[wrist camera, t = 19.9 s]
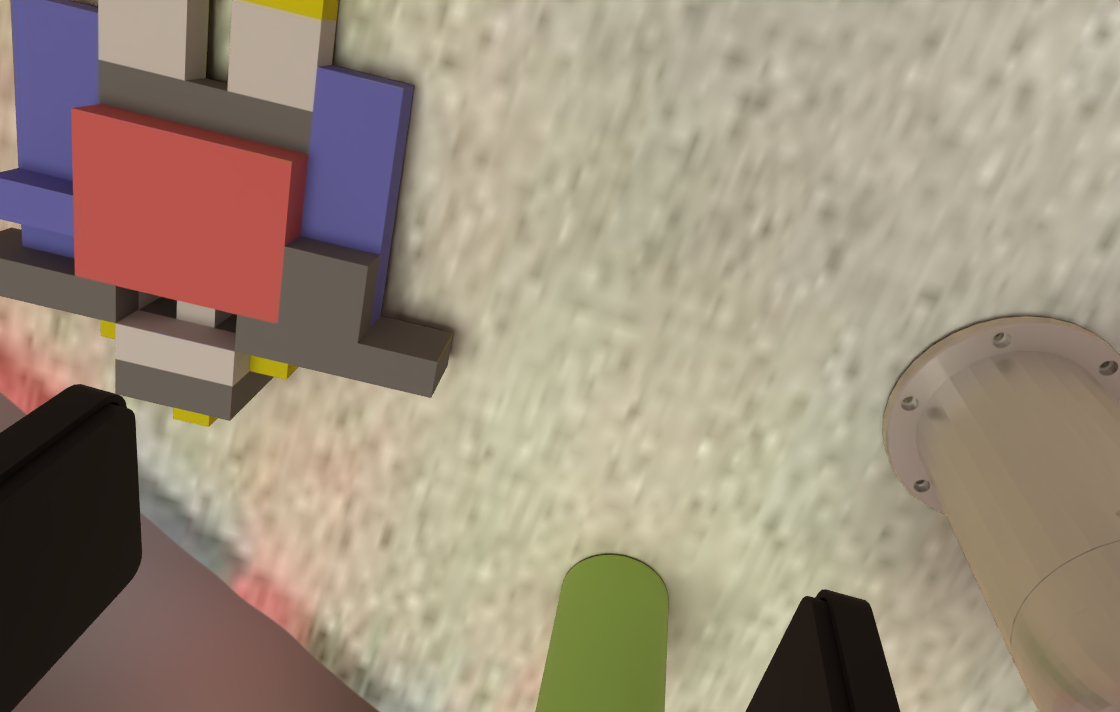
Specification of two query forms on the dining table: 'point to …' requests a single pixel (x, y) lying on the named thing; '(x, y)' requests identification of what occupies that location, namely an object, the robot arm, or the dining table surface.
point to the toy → (209, 198)
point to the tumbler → (608, 640)
